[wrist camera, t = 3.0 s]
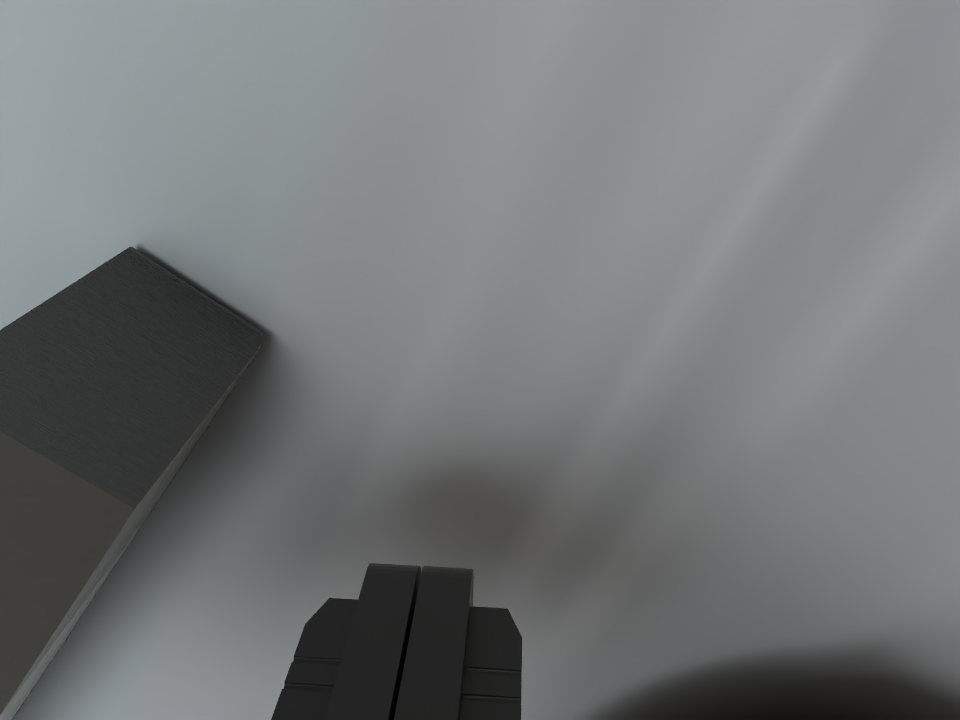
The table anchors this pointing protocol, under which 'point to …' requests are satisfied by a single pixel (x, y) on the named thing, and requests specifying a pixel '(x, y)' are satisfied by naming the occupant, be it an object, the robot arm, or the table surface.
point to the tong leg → (97, 438)
